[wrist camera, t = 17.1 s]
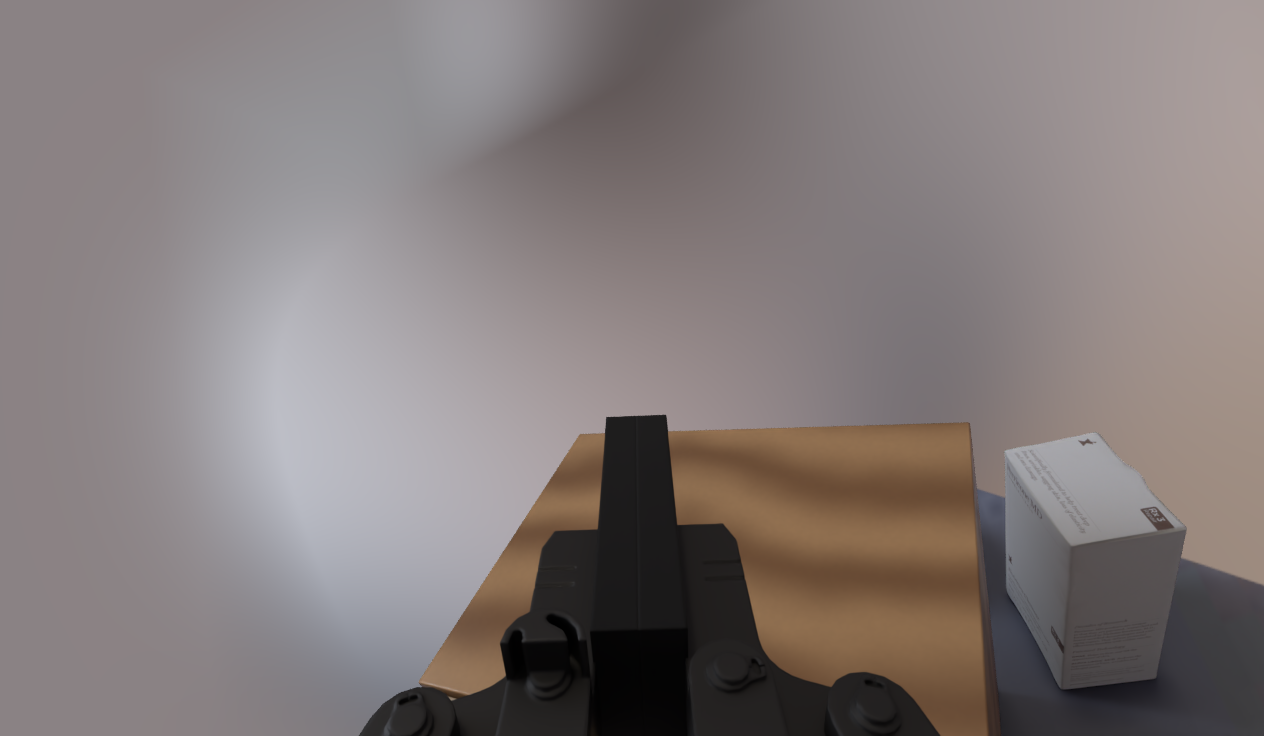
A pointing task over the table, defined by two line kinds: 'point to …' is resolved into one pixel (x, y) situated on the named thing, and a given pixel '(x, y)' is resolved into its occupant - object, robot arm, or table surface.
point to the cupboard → (800, 557)
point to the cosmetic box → (1089, 560)
